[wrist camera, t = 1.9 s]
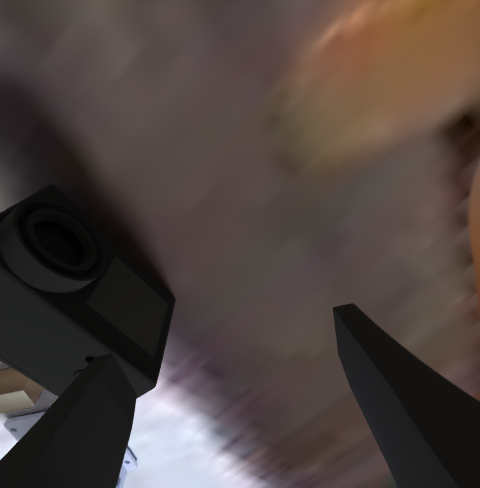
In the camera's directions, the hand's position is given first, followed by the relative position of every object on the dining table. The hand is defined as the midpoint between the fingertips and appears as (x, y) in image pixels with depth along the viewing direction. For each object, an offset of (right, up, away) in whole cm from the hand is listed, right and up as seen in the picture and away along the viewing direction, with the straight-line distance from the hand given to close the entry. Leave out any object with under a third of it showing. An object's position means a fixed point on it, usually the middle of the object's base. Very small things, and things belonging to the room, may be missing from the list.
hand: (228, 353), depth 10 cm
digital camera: (-8, +3, +10) cm, 13 cm away
